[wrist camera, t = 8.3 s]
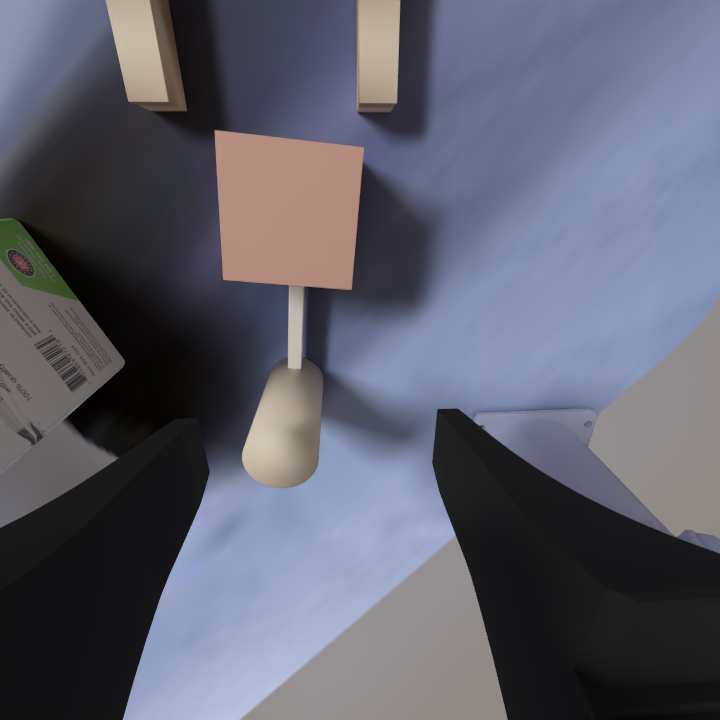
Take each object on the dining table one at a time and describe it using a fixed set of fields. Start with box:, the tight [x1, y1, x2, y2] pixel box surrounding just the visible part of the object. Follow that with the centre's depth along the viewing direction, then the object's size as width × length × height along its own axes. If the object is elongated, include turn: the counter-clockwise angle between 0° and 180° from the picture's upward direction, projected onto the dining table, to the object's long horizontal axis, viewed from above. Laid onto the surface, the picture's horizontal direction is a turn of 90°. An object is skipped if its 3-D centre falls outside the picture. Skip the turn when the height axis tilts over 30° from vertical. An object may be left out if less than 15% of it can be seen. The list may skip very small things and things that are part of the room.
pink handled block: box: [215, 130, 364, 488], centre depth 17 cm, size 14×5×7 cm, turn 174°
